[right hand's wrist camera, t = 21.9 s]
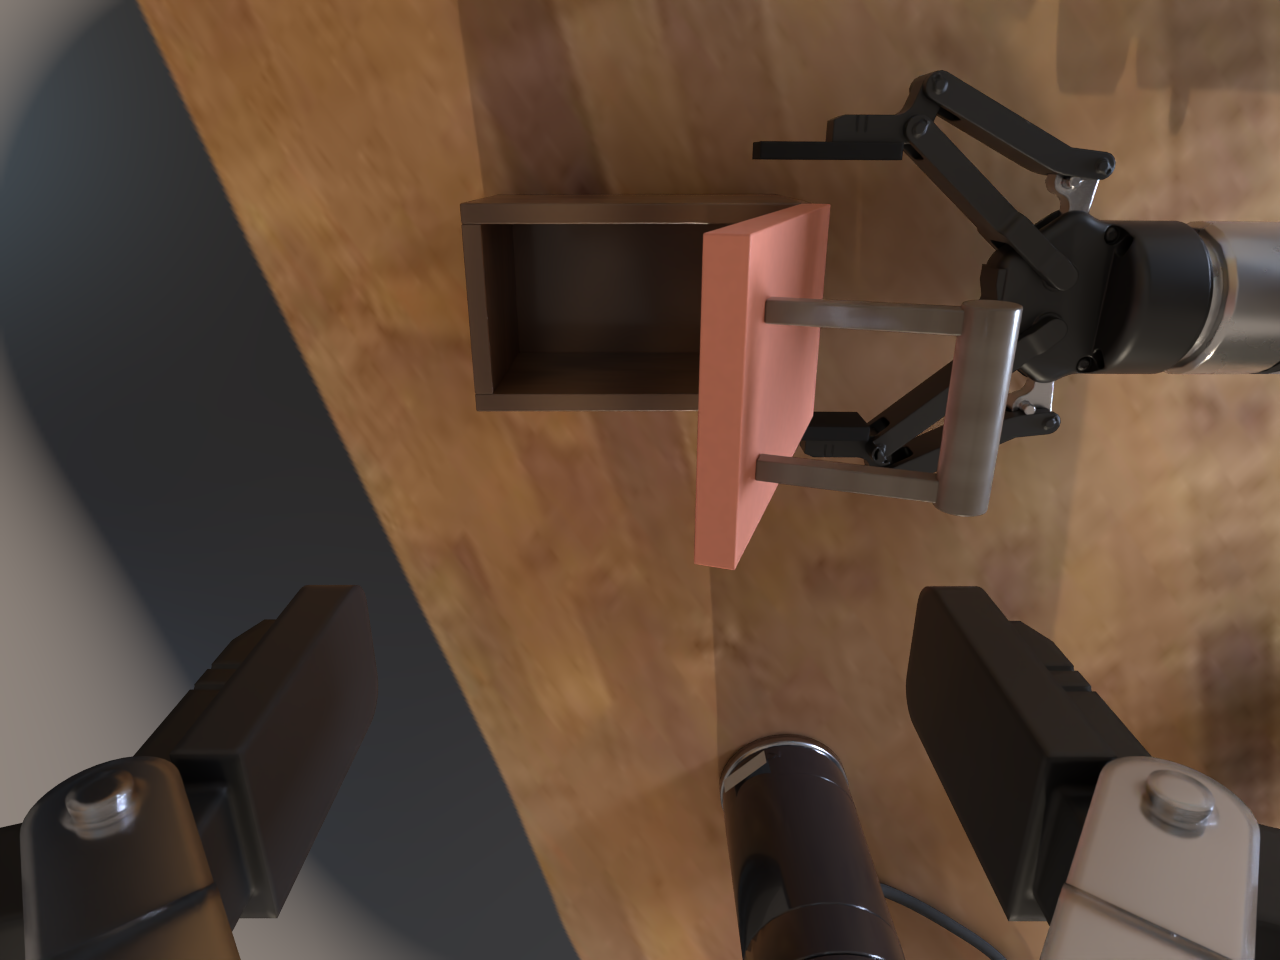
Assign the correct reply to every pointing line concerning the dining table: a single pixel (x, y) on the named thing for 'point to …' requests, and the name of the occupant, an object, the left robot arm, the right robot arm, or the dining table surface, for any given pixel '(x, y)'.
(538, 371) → the chest
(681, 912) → the dining table surface
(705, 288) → the lid
